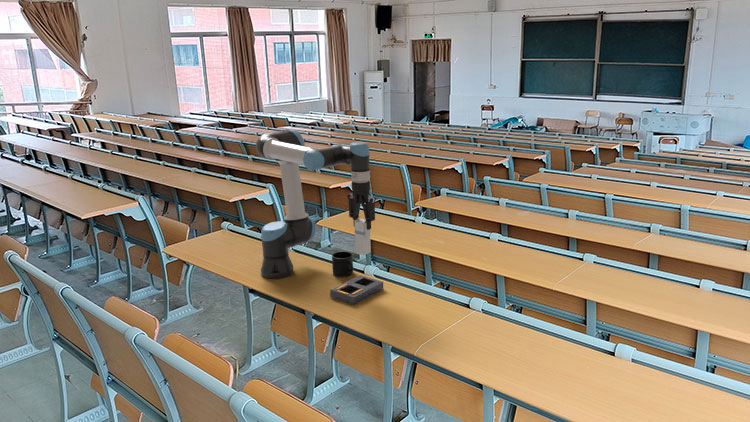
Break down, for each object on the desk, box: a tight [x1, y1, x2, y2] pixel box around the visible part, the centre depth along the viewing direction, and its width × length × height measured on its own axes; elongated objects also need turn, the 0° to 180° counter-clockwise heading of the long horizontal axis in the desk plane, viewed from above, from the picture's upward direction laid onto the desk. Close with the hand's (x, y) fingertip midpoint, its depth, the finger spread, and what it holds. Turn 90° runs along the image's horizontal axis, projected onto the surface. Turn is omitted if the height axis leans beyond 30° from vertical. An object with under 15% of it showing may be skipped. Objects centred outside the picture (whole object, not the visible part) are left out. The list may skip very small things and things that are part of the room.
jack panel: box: [330, 274, 384, 306], centre depth 233 cm, size 13×19×4 cm
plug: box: [353, 218, 372, 256], centre depth 230 cm, size 5×5×14 cm
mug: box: [331, 251, 354, 278], centre depth 252 cm, size 9×12×9 cm
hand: (362, 235), depth 230 cm, fingers closed on plug, 5 cm apart
